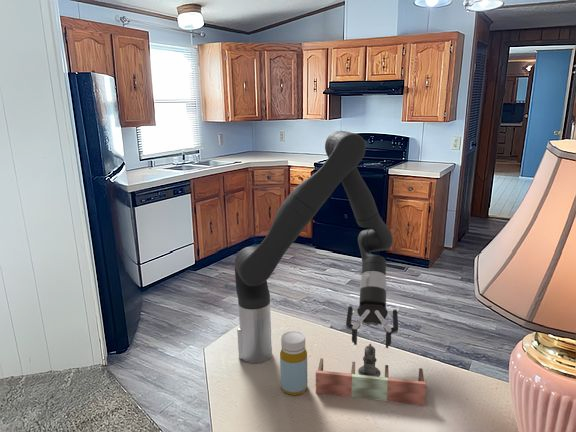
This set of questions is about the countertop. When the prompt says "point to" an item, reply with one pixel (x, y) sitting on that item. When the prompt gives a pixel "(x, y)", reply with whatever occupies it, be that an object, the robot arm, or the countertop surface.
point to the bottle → (293, 363)
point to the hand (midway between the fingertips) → (371, 345)
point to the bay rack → (371, 386)
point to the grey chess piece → (369, 363)
